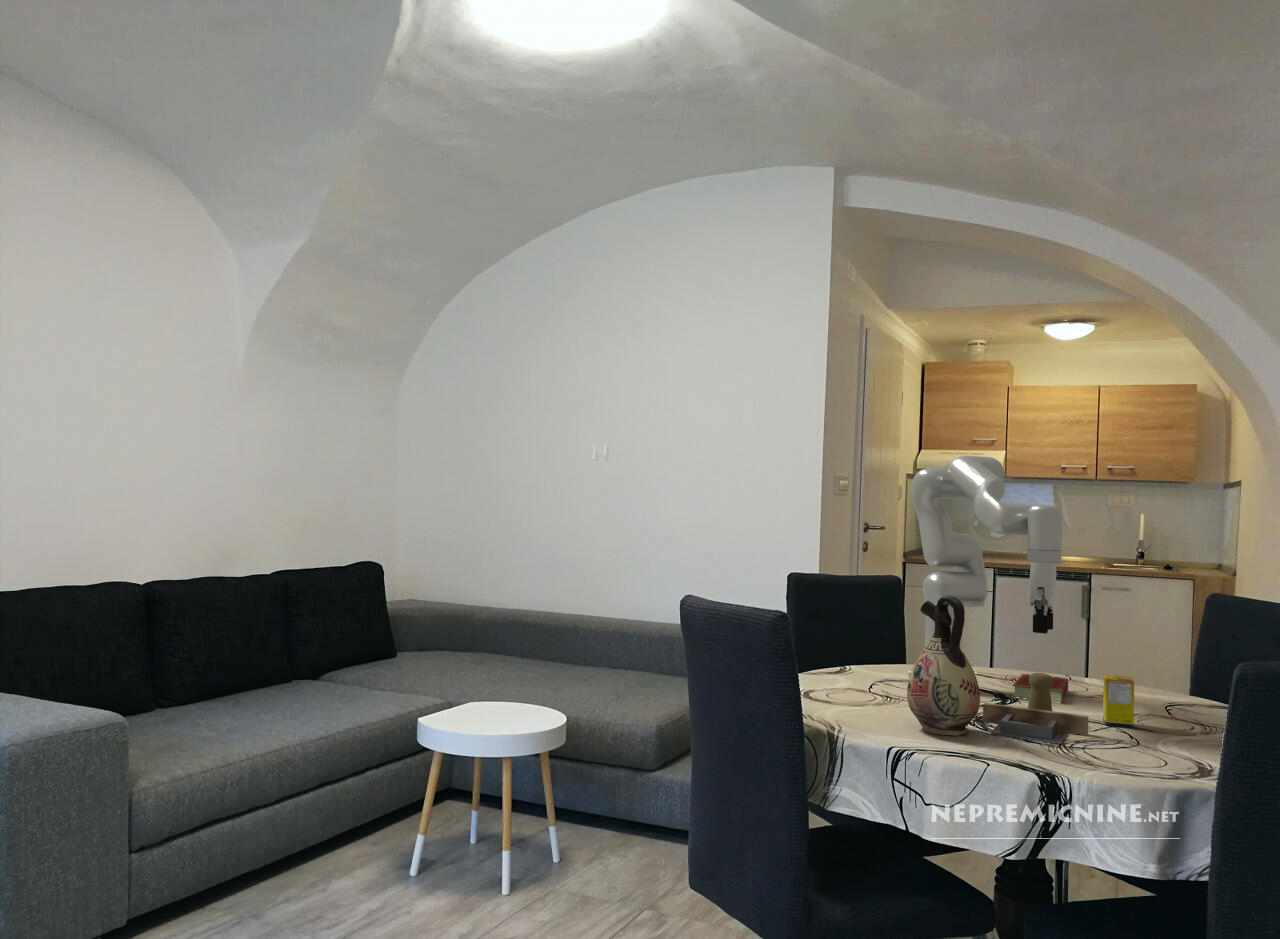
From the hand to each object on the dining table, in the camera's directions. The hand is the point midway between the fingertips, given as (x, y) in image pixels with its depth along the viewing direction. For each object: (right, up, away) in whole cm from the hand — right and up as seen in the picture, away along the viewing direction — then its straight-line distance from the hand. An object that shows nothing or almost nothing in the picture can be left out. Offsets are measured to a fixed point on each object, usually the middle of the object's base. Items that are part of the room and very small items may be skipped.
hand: (1043, 631), depth 231 cm
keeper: (-9, -20, -15) cm, 27 cm away
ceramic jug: (-28, -20, -16) cm, 38 cm away
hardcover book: (+13, -23, +33) cm, 42 cm away
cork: (-1, -21, 0) cm, 21 cm away
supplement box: (+17, -22, -1) cm, 28 cm away
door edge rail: (-5, -21, -8) cm, 23 cm away
